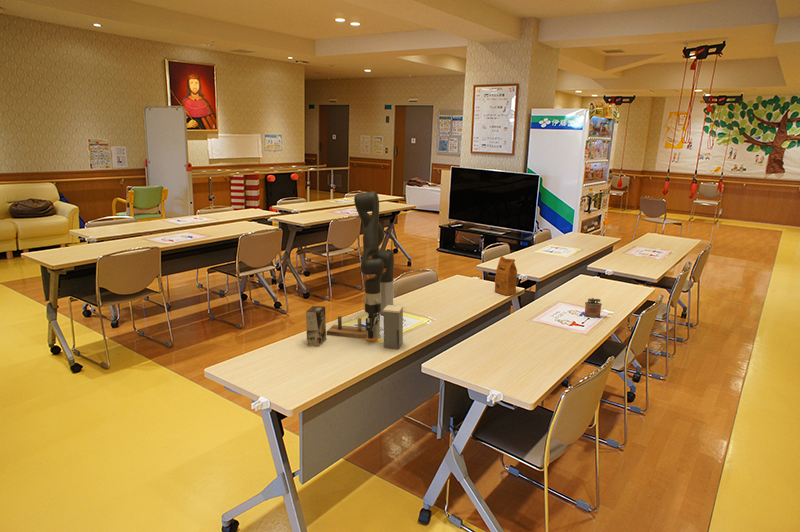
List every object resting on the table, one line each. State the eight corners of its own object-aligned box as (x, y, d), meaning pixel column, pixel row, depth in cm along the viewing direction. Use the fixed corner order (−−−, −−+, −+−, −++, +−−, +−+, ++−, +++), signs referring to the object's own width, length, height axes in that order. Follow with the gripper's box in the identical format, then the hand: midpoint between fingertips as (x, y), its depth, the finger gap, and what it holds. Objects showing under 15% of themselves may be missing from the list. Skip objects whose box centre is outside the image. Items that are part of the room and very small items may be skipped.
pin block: (333, 328, 256) (333, 313, 254) (372, 332, 251) (372, 316, 249) (326, 335, 247) (326, 319, 245) (366, 338, 242) (366, 322, 240)
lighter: (584, 317, 272) (585, 298, 270) (583, 315, 275) (585, 296, 273) (600, 318, 270) (602, 300, 267) (600, 316, 273) (601, 298, 271)
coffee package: (503, 289, 322) (505, 254, 317) (518, 294, 312) (520, 258, 307) (491, 291, 317) (493, 256, 312) (505, 296, 307) (507, 260, 301)
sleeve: (369, 336, 245) (369, 320, 243) (380, 337, 244) (380, 321, 242) (366, 340, 240) (366, 324, 238) (377, 341, 239) (376, 325, 237)
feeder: (387, 341, 239) (387, 304, 235) (402, 343, 237) (403, 306, 233) (383, 347, 232) (383, 309, 228) (399, 349, 231) (399, 311, 226)
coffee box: (320, 346, 234) (318, 312, 230) (306, 345, 235) (305, 311, 231) (326, 339, 242) (325, 306, 238) (313, 338, 243) (312, 305, 240)
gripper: (369, 296, 245) (370, 329, 249) (359, 305, 232) (360, 340, 236) (384, 297, 244) (385, 330, 247) (376, 306, 230) (376, 341, 234)
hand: (373, 335), depth 242 cm, fingers open, 7 cm apart
